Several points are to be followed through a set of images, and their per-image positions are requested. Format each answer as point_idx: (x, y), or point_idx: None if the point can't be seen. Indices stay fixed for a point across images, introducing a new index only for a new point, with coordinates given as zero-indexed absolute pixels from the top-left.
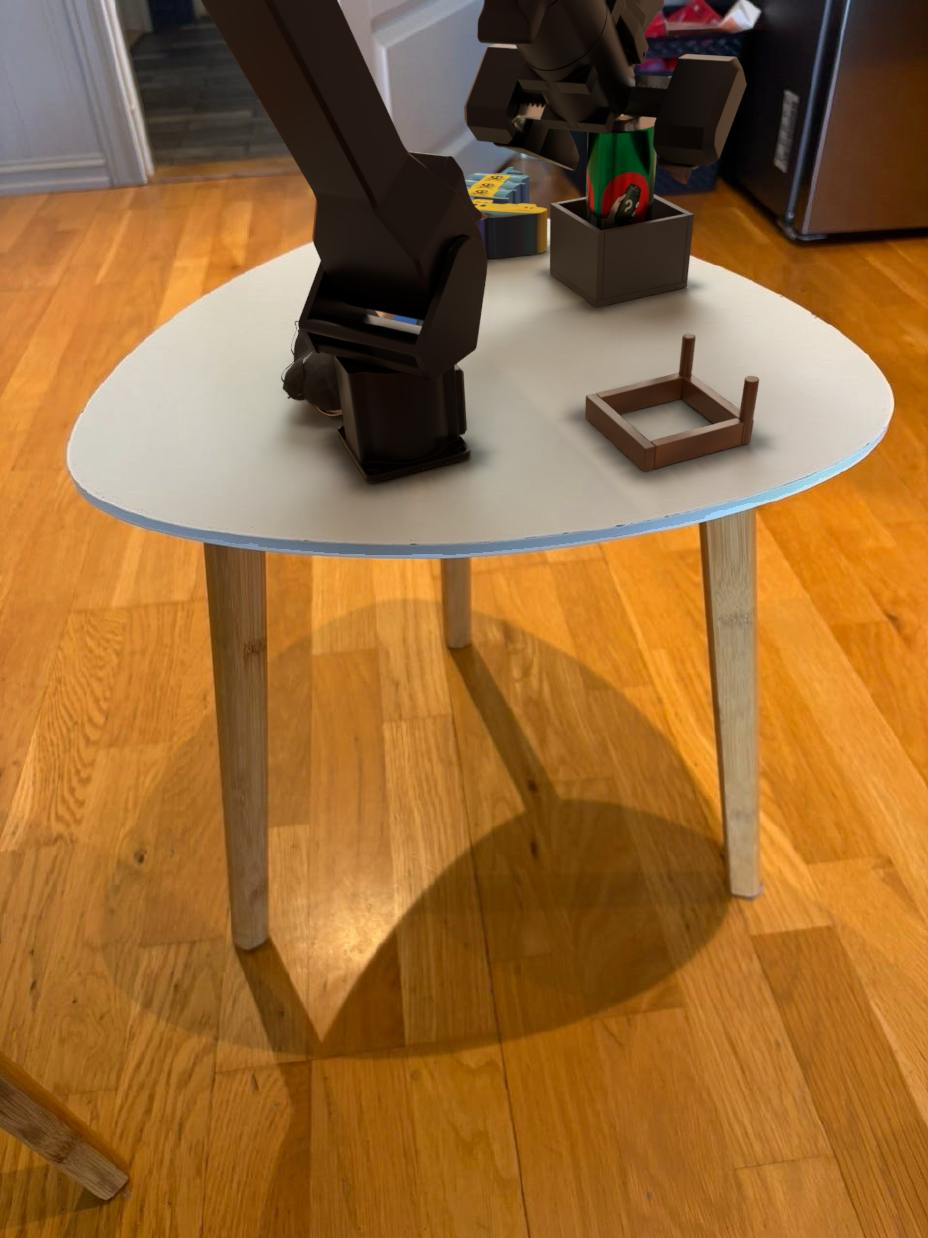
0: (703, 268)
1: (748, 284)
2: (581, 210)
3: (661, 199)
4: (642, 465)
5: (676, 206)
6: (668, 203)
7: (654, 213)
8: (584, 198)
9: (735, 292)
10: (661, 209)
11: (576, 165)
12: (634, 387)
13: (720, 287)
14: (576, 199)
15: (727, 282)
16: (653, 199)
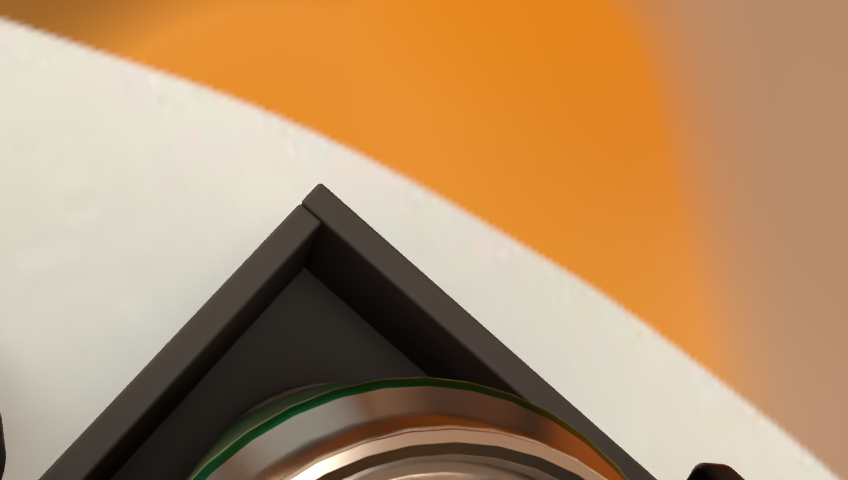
0: (545, 283)
1: (702, 367)
2: (109, 459)
3: (478, 342)
4: None
5: (570, 415)
6: (525, 387)
7: (434, 339)
8: (108, 444)
9: (690, 443)
10: (481, 371)
11: (3, 455)
12: None
13: (640, 420)
14: (70, 475)
15: (645, 373)
16: (433, 323)
